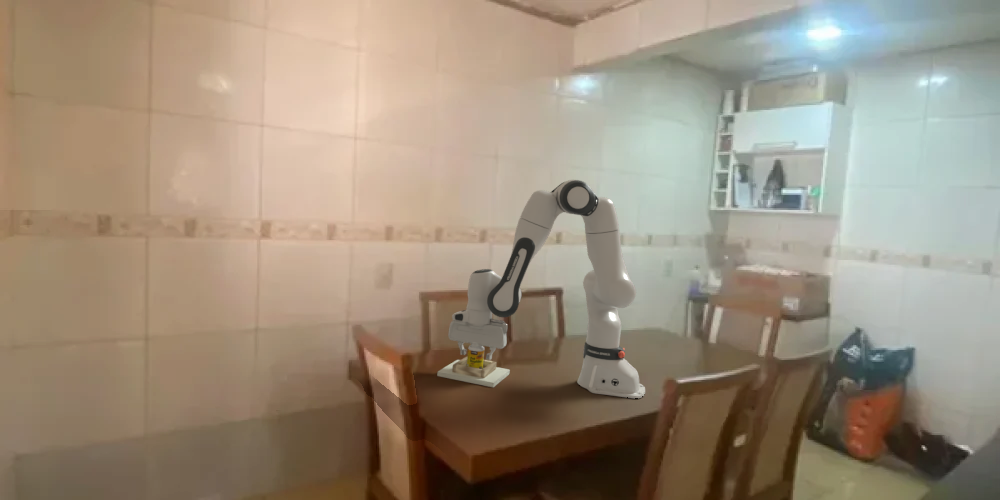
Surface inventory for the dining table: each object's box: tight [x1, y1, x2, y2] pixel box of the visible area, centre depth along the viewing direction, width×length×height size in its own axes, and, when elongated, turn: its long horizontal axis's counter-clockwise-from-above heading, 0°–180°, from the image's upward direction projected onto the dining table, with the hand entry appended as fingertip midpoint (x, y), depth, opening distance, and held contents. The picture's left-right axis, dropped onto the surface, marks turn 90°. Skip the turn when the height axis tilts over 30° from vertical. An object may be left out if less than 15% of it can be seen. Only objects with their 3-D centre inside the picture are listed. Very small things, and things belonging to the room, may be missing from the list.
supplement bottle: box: [467, 342, 485, 369], centre depth 182 cm, size 6×6×10 cm
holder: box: [436, 355, 511, 388], centre depth 182 cm, size 20×16×4 cm
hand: (475, 356), depth 182 cm, fingers open, 8 cm apart
